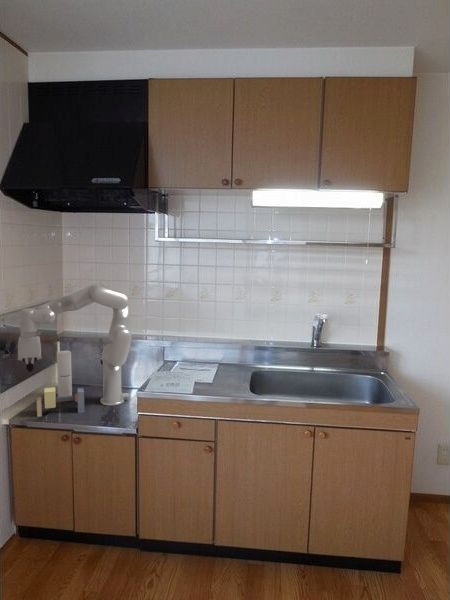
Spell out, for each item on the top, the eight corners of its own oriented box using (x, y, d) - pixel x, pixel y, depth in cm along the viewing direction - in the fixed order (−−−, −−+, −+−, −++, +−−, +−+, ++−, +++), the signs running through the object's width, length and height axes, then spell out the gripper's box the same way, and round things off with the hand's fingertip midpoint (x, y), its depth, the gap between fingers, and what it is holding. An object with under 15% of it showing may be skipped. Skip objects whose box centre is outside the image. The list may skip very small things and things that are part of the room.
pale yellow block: (55, 402, 226) (55, 387, 225) (55, 407, 220) (55, 391, 219) (45, 403, 224) (44, 388, 223) (44, 408, 219) (44, 392, 217)
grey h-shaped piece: (83, 407, 231) (83, 387, 229) (84, 412, 226) (84, 391, 224) (37, 412, 224) (37, 391, 222) (37, 417, 218) (36, 395, 216)
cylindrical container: (67, 399, 242) (66, 354, 238) (55, 397, 243) (54, 353, 239) (74, 394, 248) (73, 351, 244) (62, 393, 250) (61, 350, 246)
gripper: (46, 332, 220) (47, 367, 222) (12, 333, 214) (14, 369, 217) (45, 335, 213) (46, 372, 215) (11, 336, 207) (12, 374, 210)
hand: (30, 371), depth 216 cm, fingers closed
